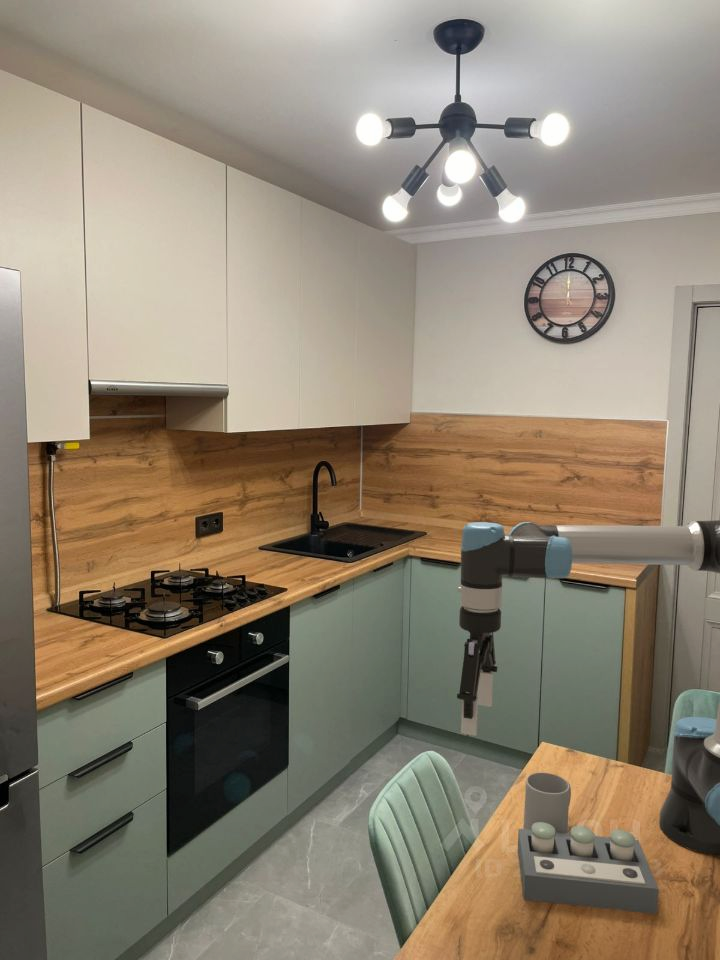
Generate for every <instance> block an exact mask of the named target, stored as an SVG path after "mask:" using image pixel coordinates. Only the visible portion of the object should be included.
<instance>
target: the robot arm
mask: <svg viewBox="0 0 720 960" xmlns="http://www.w3.org/2000/svg"><path fill="white" fill-rule="evenodd" d="M461 533H462V534H461V537H462V538H461V547H460V586H458V587H457V592H458V593H460V597H459V598H460V599H459V600H460V601H459V603H460V605H461V607H460V608H459V620H458V621H459V622H458V623H459V627H460V628H461V629H462V630H464V631H467V632H468V633H469V638H467V640H466V641H465V642H464V646H463V647H464V650H463V651H464V653H463V663H462V669H461V676H460V677H461V678H460V684H459V685H460V686H459V692H458V693H457V694H456V699H458V700H461V713H460V714H461V715H460V718H461V719H460V722H461V723H460V724H461V725H460V734H463V735H467V736H468V735H469V736H477V735H478V710H479V709H478V708H479V707H478V706H485V707H489V708H490V707H491V708H492V707H493V688H494V687H493V686H494V684H493V683H494V673H497V672H498V666H495V665H496V664H497V661H496V652H495V641H494V639H495V638H494V633H496V632H499V630H500V629H501V627H502V626H501V625H502V610H501V609H500V608H502V605H503V604H502V603H503V577H507V578H513V577H514V578H516V577H517V578H534V579H548V580H553V579H566V578H567V577H569V576H570V574H571V572H572V567H573V564H589V565H590V564H592V565H593V564H595V565H603V564H604V565H658V566H659V565H660V566H664V565H665V566H687V567H688V568H690V570H692V571H700V572H701V571H702V572H711V573H717V574H720V520H718V519H716V520H691V521H690V522H689V523H688V524H687V525H587V524H586V525H585V524H583V525H578V524H577V525H570V524H569V525H567V524H566V525H565V524H562V525H559V524H556V525H552V524H546V525H545V524H537V523H534V522H528V521H523V522H519V523H518V524H516V525H515V526H514V527H512V528H511V530H510V532H509V534H506V533H505V529H504V526H503V525H502V524H499V523H495V522H488V521H487V522H486V521H482V522H481V521H478V522H477V521H475V522H469V523H466V525H464V527H463V528H462V532H461ZM672 737H673V747H672V748H673V749H672V750H673V751H672V763H671V765H672V767H671V768H672V769H671V780H670V781H671V782H670V783H671V784H670V789H669V792H668V793H667V796H666V798H665V799H664V801H663V804H662V806H661V808H660V812H659V821H658V825H659V828H660V829H661V831H662V832H663V834H664V836H666V837H668V838H669V839H670V840H672V841H673V842H675V843H676V844H678V845H680V846H682V847H684V848H686V849H688V850H692V851H694V852H695V851H696V852H699V853H701V854H708V855H717V856H718V855H720V698H719V700H718V707H717V714H716V718H710V717H702V716H701V717H700V716H688V717H687V716H686V717H682V718H680V719H678V720H677V721H676V723H675V727H674V733H673V736H672Z"/></svg>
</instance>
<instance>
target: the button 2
mask: <svg viewBox="0 0 720 960" xmlns="http://www.w3.org/2000/svg"><path fill="white" fill-rule="evenodd" d="M609 837H610V840H611V841H610V859H611V860H620V861H630V862H633V853H634V844H635V840H636V837H635V836H634V834H632V833H631V832H629V831H627V830H625V829H624V830H622V829H613V830H612V831H610V834H609Z"/></svg>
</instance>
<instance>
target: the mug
mask: <svg viewBox="0 0 720 960" xmlns="http://www.w3.org/2000/svg"><path fill="white" fill-rule="evenodd" d="M524 792H525V793H524V811H523V812H524V813H523V828H522V829H528V830H532V825H533V824H534V823H537V822H544V823H548V824H550V825H552V826H553V827H554V828H555V832H559V833H568V832H569V830H568V828H569V810H570V804H571V797H572V789H571V784H570V782H568V781H567V780H566V779H565V778H564V777H562V776H559V775H557V774H554V773H550V772H535V773H532V774H529V775H528V776H527V777H526V780H525V790H524Z"/></svg>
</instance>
